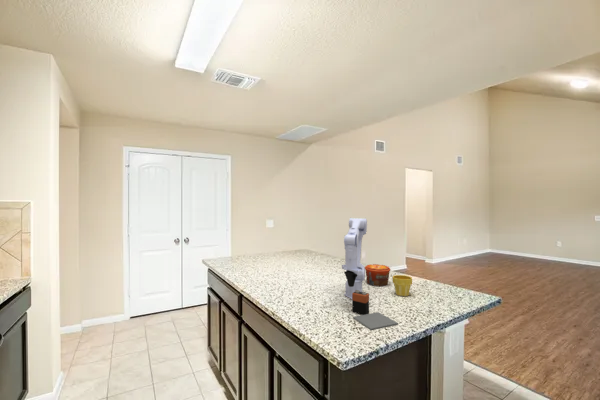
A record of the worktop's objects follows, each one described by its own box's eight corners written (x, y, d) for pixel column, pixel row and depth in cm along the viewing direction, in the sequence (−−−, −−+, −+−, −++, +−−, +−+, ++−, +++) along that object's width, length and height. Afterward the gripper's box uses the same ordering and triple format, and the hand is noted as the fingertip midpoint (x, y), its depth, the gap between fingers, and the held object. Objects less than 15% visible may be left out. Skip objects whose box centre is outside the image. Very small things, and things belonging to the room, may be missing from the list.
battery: (356, 309, 137) (356, 288, 137) (369, 312, 133) (369, 291, 133) (351, 312, 134) (351, 291, 134) (365, 315, 129) (365, 293, 130)
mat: (352, 318, 127) (352, 316, 127) (378, 313, 132) (378, 312, 132) (370, 330, 115) (370, 328, 115) (398, 324, 120) (398, 323, 120)
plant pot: (394, 290, 167) (394, 273, 167) (413, 293, 161) (413, 276, 162) (390, 295, 158) (390, 277, 158) (410, 298, 153) (410, 280, 153)
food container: (393, 287, 173) (393, 269, 173) (367, 287, 173) (367, 269, 174) (386, 280, 189) (386, 264, 189) (362, 280, 189) (362, 263, 189)
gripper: (336, 256, 146) (336, 283, 146) (352, 262, 133) (352, 291, 132) (348, 255, 149) (348, 281, 148) (365, 261, 135) (365, 289, 135)
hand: (351, 286), depth 141 cm, fingers closed
